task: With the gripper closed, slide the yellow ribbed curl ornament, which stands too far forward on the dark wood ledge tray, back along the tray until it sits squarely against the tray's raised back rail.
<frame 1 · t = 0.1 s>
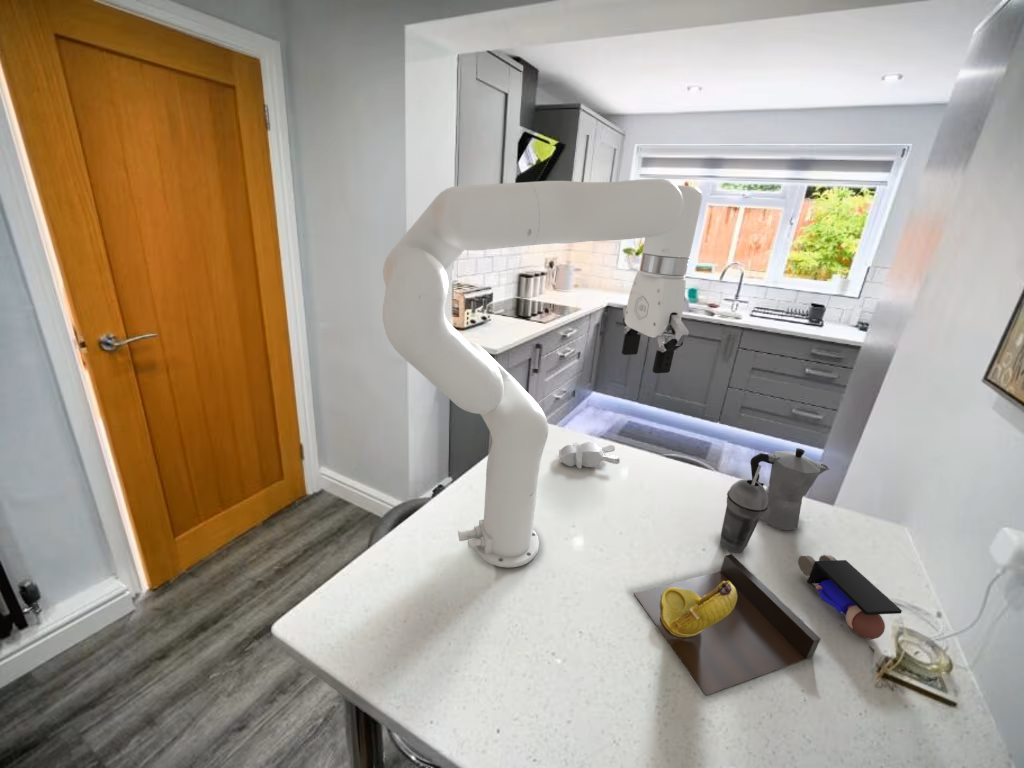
hand: (644, 362, 79), 37 cm above the counter, tool pointing down, fingers open, 9 cm apart
yellow ribbed curl ornament: (686, 632, 70), resting on dark wood ledge tray
dark wood ledge tray: (715, 623, 72), on the counter
beverage cup: (731, 546, 90), on the counter
coffeepot: (770, 517, 100), on the counter
figurine character: (834, 606, 77), on the counter
bunny figurine: (586, 463, 115), on the counter
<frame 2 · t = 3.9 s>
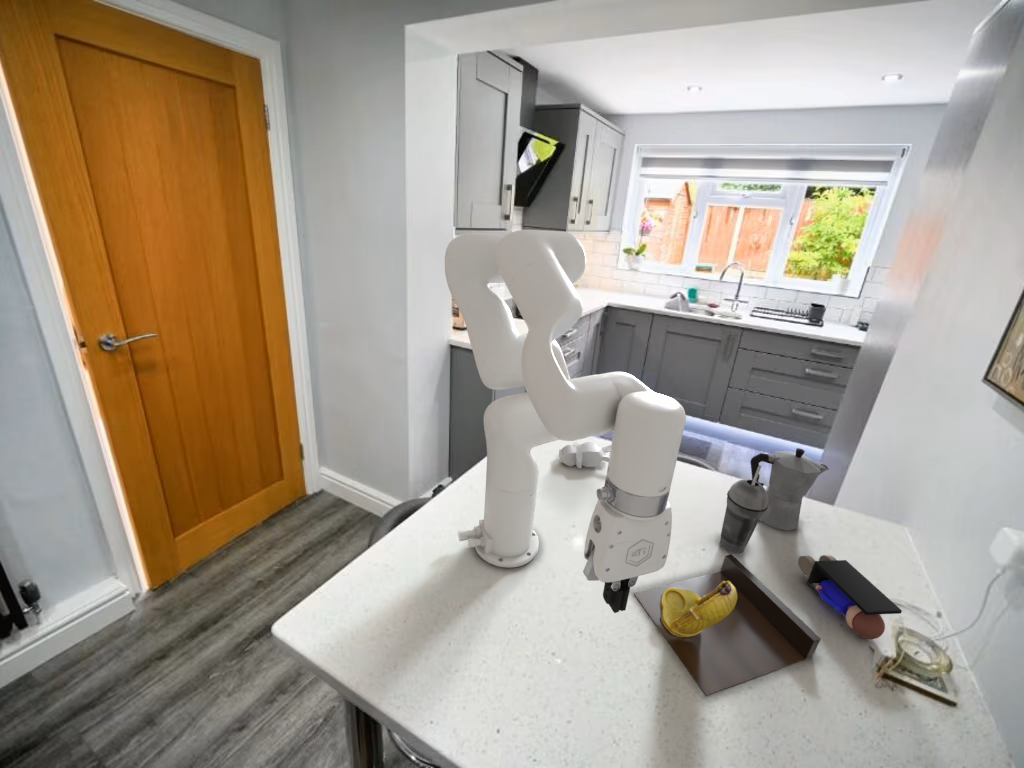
hand: (613, 603, 60), 12 cm above the counter, tool pointing down, fingers closed
nothing on the counter moved.
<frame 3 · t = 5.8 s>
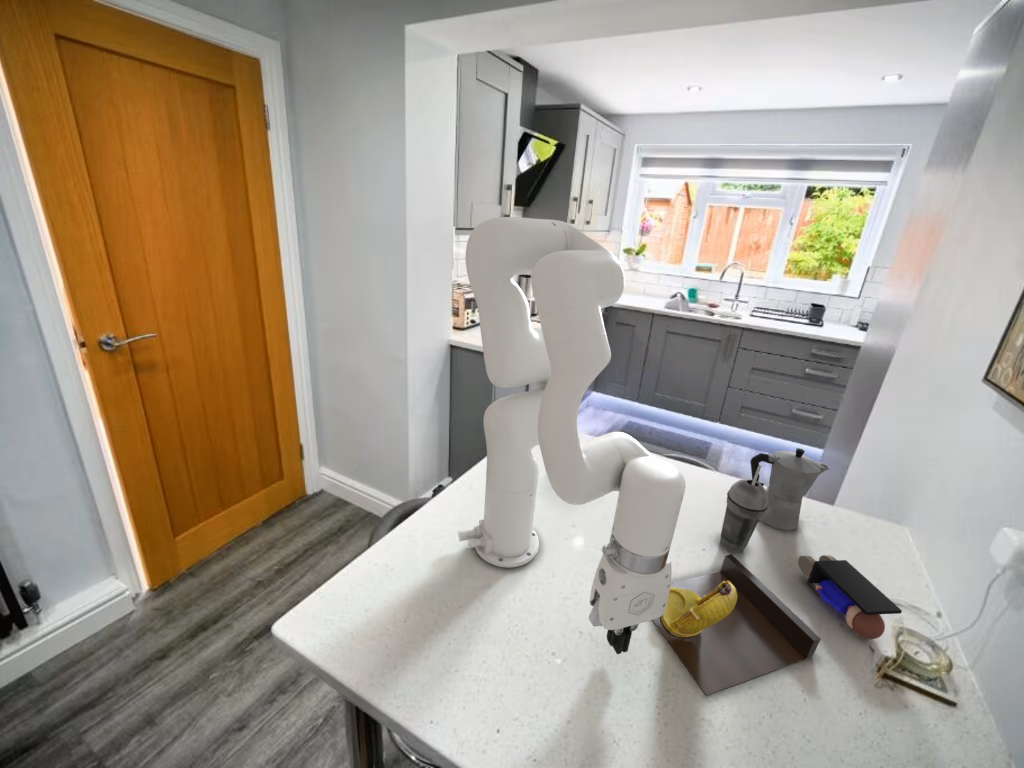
hand: (616, 644, 65), 2 cm above the counter, tool pointing down, fingers closed
nothing on the counter moved.
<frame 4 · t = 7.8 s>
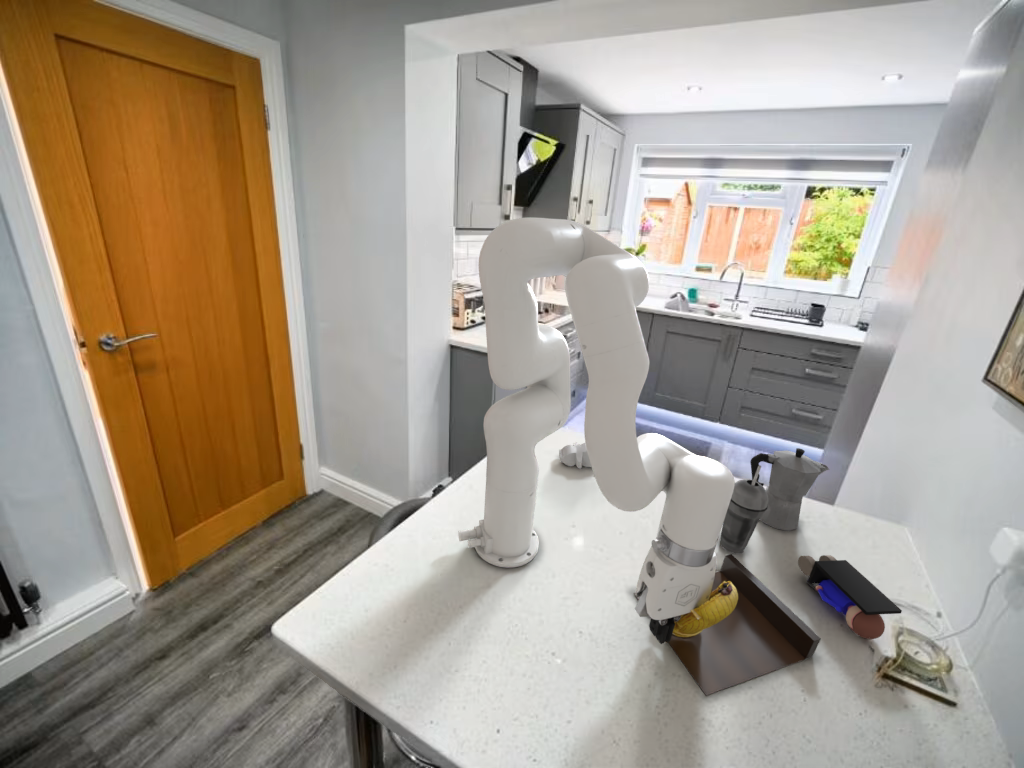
hand: (659, 634, 68), 2 cm above the counter, tool pointing down, fingers closed
yellow ribbed curl ornament: (686, 632, 70), resting on dark wood ledge tray, touching gripper
everything else where it was.
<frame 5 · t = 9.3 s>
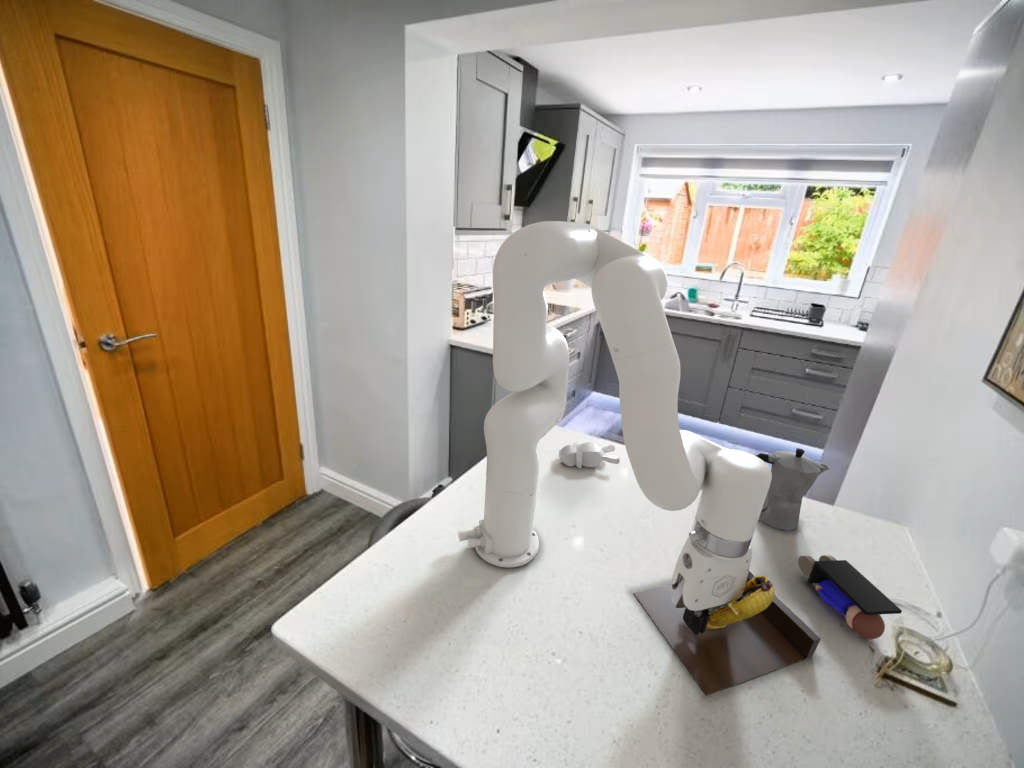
hand: (693, 626, 69), 2 cm above the counter, tool pointing down, fingers closed
yellow ribbed curl ornament: (713, 624, 72), resting on dark wood ledge tray, touching gripper
everything else where it was.
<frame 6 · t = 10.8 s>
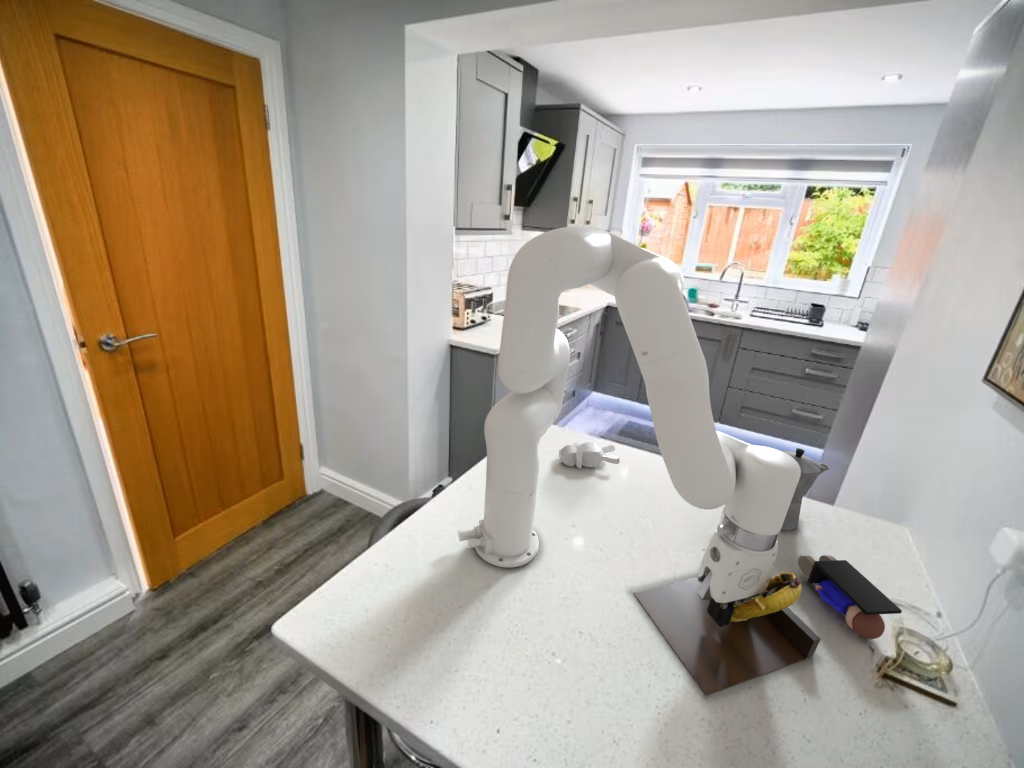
hand: (717, 618, 71), 2 cm above the counter, tool pointing down, fingers closed
yellow ribbed curl ornament: (735, 617, 73), resting on dark wood ledge tray, touching gripper
everything else where it was.
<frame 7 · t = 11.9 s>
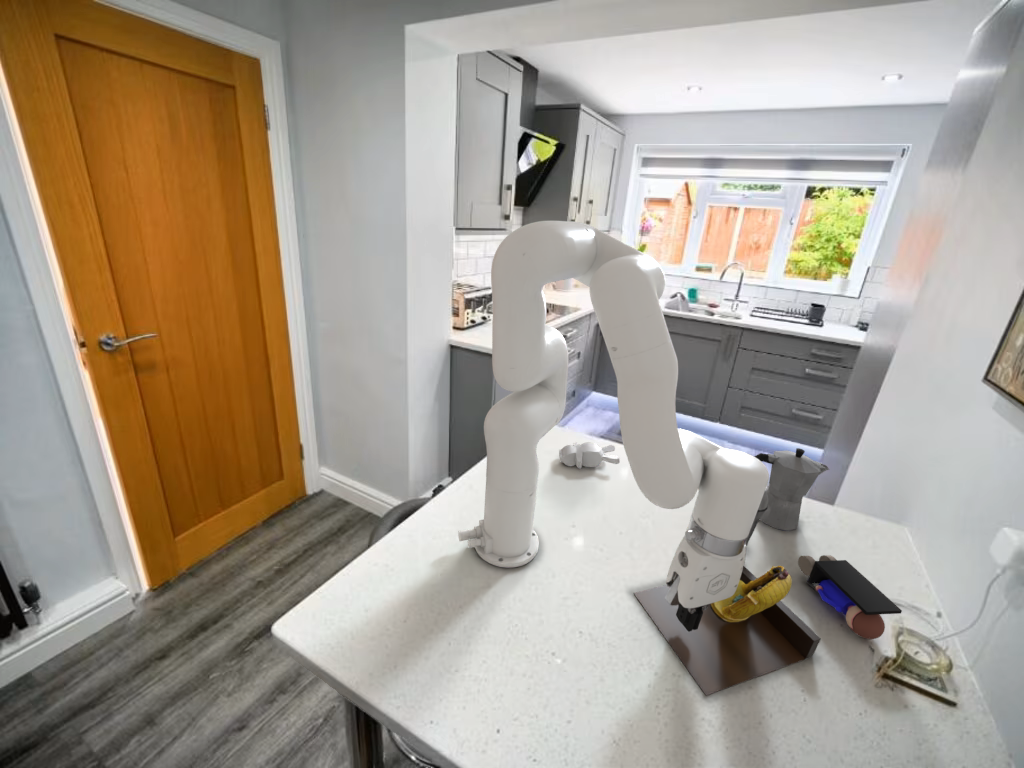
hand: (686, 622, 70), 2 cm above the counter, tool pointing down, fingers closed
yellow ribbed curl ornament: (735, 617, 73), resting on dark wood ledge tray
everything else where it was.
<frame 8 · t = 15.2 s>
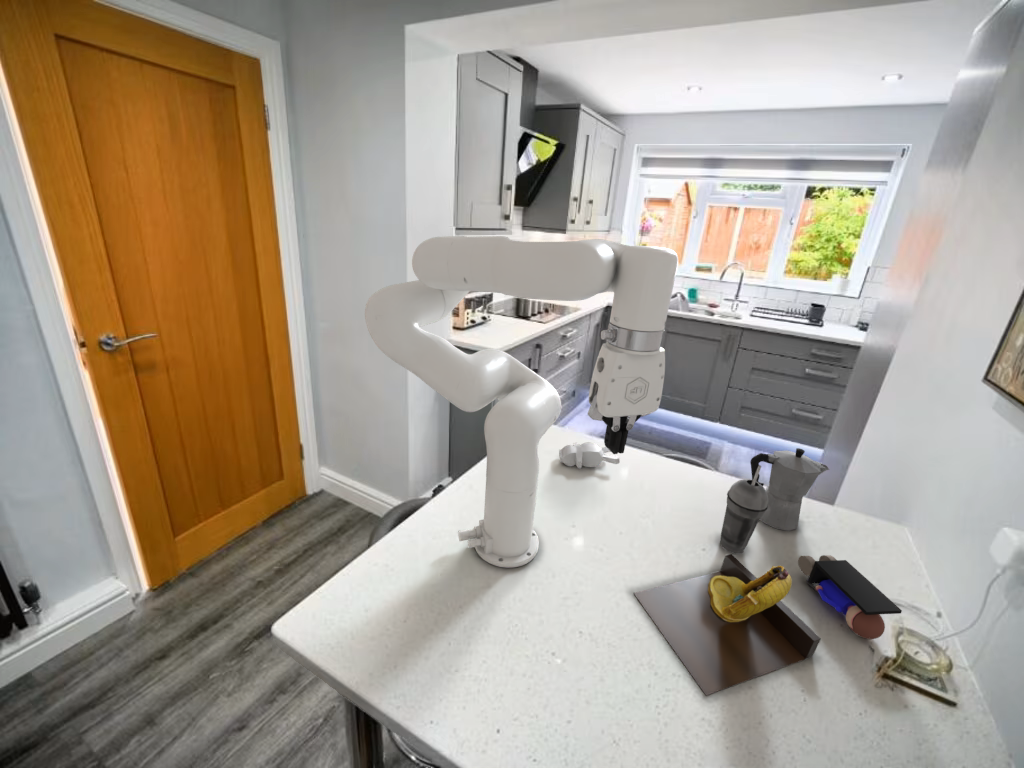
hand: (613, 449, 69), 27 cm above the counter, tool pointing down, fingers closed
nothing on the counter moved.
at the end: yellow ribbed curl ornament inside the target area (0.3 cm from its centre), resting on dark wood ledge tray; yellow ribbed curl ornament tilted 0°; yellow ribbed curl ornament moved 10.2 cm from its start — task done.
